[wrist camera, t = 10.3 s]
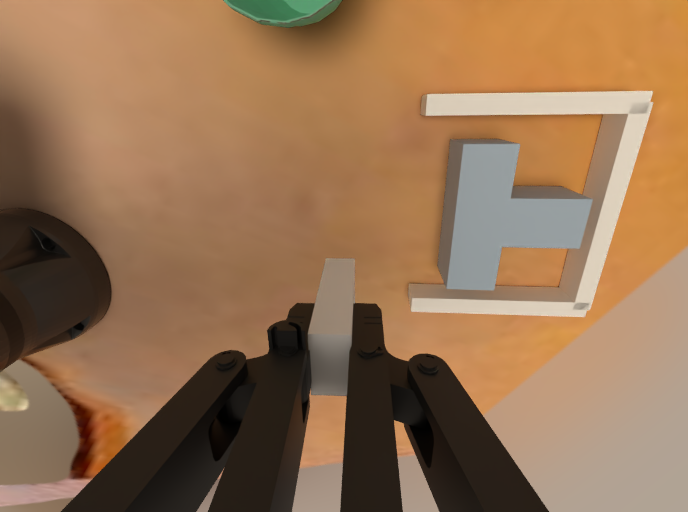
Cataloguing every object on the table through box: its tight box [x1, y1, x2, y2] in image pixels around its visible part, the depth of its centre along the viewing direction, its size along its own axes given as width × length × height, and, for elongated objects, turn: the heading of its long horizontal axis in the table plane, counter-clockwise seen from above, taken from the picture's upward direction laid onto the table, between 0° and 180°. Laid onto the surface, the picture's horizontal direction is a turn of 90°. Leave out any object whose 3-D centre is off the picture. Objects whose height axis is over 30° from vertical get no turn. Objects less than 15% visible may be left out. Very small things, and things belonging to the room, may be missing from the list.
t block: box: [437, 139, 593, 291], centre depth 30 cm, size 10×12×5 cm
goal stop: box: [408, 91, 653, 317], centre depth 31 cm, size 16×19×3 cm
